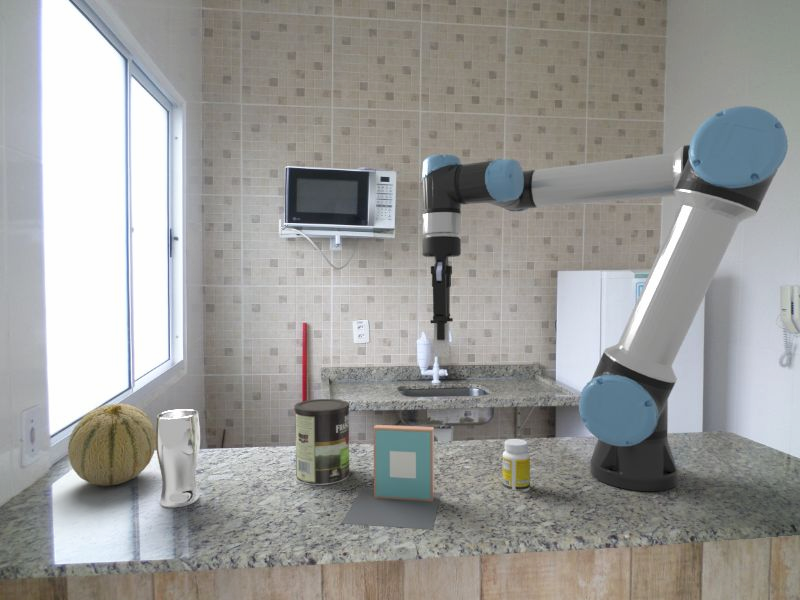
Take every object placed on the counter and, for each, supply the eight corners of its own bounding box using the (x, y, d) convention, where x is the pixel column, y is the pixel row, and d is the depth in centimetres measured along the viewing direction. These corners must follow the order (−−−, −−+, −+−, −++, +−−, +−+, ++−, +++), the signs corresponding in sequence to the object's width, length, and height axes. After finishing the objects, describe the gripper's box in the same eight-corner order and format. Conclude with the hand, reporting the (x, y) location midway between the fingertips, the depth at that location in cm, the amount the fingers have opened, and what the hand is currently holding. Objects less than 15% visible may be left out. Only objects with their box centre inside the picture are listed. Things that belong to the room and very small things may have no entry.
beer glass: (209, 495, 94) (208, 410, 94) (181, 511, 88) (179, 420, 87) (177, 490, 97) (175, 407, 96) (147, 506, 90) (145, 417, 90)
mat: (441, 496, 94) (441, 492, 94) (432, 533, 80) (432, 529, 80) (362, 491, 96) (362, 488, 96) (340, 527, 82) (340, 523, 82)
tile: (434, 497, 92) (433, 426, 91) (432, 502, 90) (432, 430, 89) (376, 493, 93) (375, 424, 93) (373, 498, 91) (373, 428, 91)
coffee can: (356, 470, 107) (355, 399, 106) (340, 490, 97) (339, 411, 96) (307, 466, 109) (306, 397, 108) (286, 486, 99) (285, 409, 98)
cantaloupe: (123, 464, 111) (121, 392, 110) (174, 475, 104) (172, 398, 104) (49, 489, 98) (47, 407, 97) (103, 504, 91) (100, 416, 91)
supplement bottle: (532, 485, 98) (532, 439, 98) (526, 495, 94) (526, 447, 93) (506, 481, 100) (506, 436, 100) (499, 490, 96) (499, 444, 95)
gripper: (426, 239, 114) (427, 350, 115) (417, 233, 99) (418, 360, 100) (462, 239, 113) (462, 350, 114) (458, 232, 98) (458, 361, 99)
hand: (442, 355), depth 107 cm, fingers open, 2 cm apart
